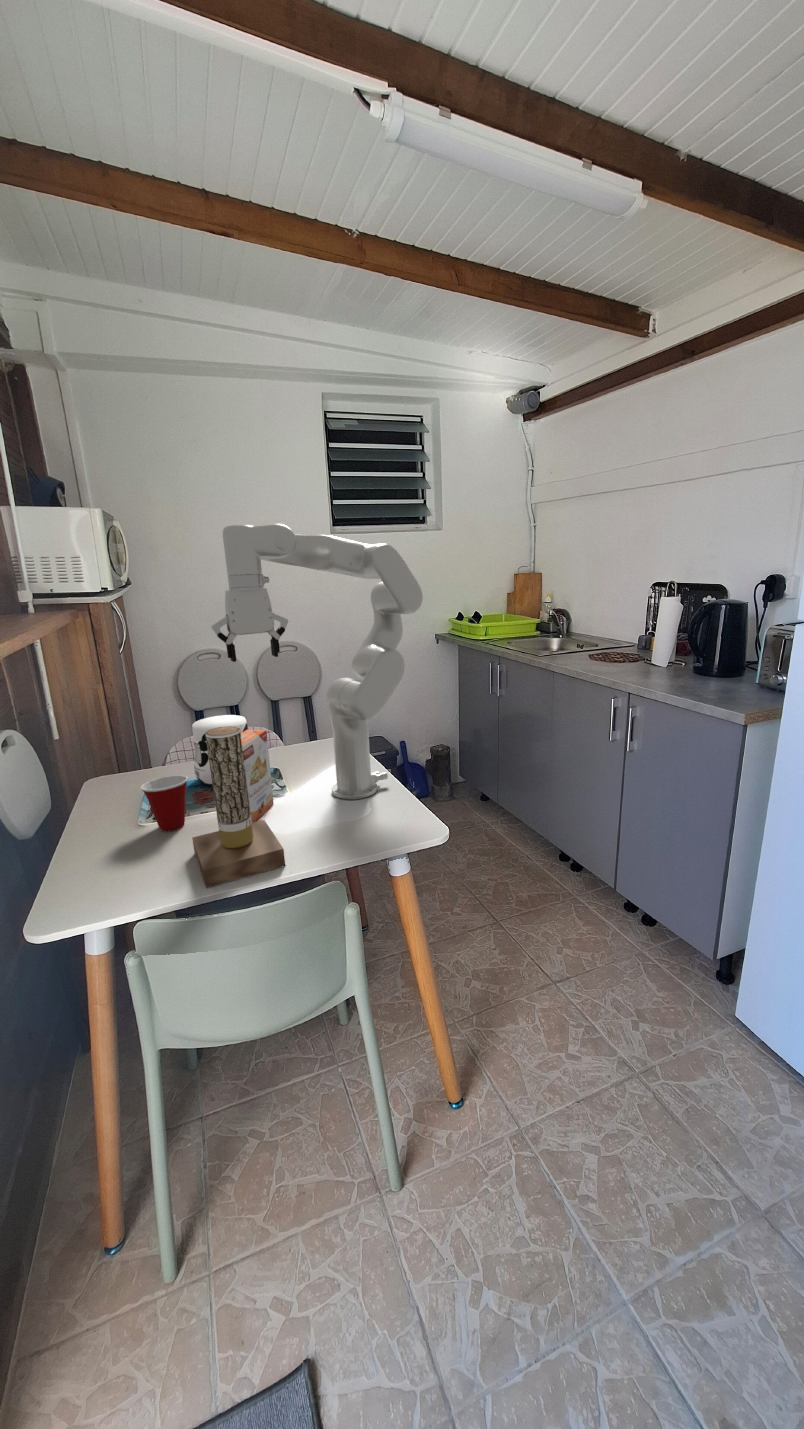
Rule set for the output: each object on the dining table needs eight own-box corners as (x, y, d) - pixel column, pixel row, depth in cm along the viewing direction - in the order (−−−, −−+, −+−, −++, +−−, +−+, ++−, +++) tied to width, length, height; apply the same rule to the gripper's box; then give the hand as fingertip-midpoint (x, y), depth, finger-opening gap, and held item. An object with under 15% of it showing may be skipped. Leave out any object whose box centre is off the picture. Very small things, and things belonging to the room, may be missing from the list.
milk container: (266, 770, 173) (260, 714, 168) (238, 792, 157) (230, 731, 152) (216, 767, 177) (209, 713, 172) (184, 789, 161) (175, 729, 156)
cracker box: (251, 828, 134) (241, 746, 129) (229, 827, 136) (217, 745, 130) (275, 804, 148) (267, 728, 142) (254, 803, 149) (245, 728, 143)
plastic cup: (183, 812, 145) (176, 769, 142) (202, 824, 137) (195, 779, 134) (141, 827, 138) (132, 782, 135) (158, 840, 130) (150, 793, 127)
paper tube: (224, 853, 115) (207, 737, 108) (218, 839, 121) (202, 729, 114) (257, 844, 118) (243, 731, 111) (250, 832, 124) (236, 724, 117)
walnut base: (266, 835, 130) (264, 819, 129) (285, 865, 117) (283, 848, 116) (194, 853, 123) (192, 837, 122) (206, 888, 110) (203, 870, 109)
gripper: (279, 580, 132) (286, 652, 136) (203, 585, 124) (213, 660, 129) (288, 581, 125) (295, 656, 130) (208, 585, 118) (219, 665, 122)
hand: (254, 658), depth 129 cm, fingers open, 9 cm apart
